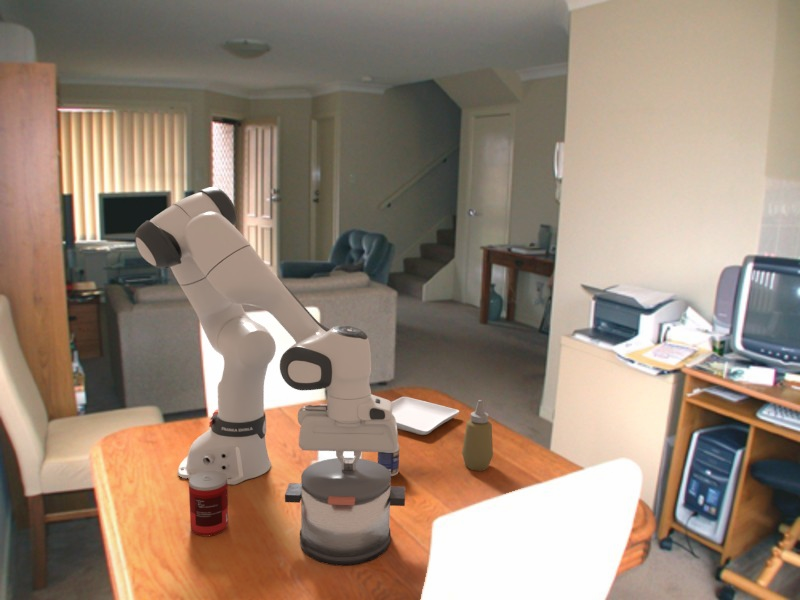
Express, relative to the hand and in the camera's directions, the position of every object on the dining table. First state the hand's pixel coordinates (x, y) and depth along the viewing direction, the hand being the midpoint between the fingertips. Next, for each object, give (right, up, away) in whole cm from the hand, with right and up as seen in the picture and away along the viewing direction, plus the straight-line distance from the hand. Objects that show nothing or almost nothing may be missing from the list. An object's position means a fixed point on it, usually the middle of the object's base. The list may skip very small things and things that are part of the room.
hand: (348, 469), depth 135 cm
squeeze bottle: (+31, -9, +35) cm, 48 cm away
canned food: (-30, -13, +3) cm, 33 cm away
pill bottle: (+8, -9, +31) cm, 33 cm away
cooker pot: (-1, -14, 0) cm, 14 cm away
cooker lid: (0, -2, -3) cm, 4 cm away
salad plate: (+15, -3, +65) cm, 67 cm away
